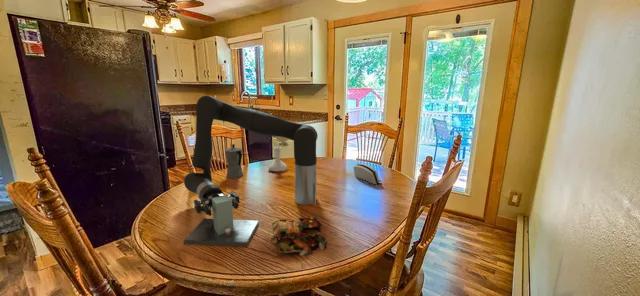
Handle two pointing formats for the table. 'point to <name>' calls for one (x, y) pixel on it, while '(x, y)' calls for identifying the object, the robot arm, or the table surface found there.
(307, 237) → the food
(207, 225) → the mounting plate
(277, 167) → the flower in vase
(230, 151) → the coffeepot
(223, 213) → the block
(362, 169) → the napkin holder
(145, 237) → the table surface
